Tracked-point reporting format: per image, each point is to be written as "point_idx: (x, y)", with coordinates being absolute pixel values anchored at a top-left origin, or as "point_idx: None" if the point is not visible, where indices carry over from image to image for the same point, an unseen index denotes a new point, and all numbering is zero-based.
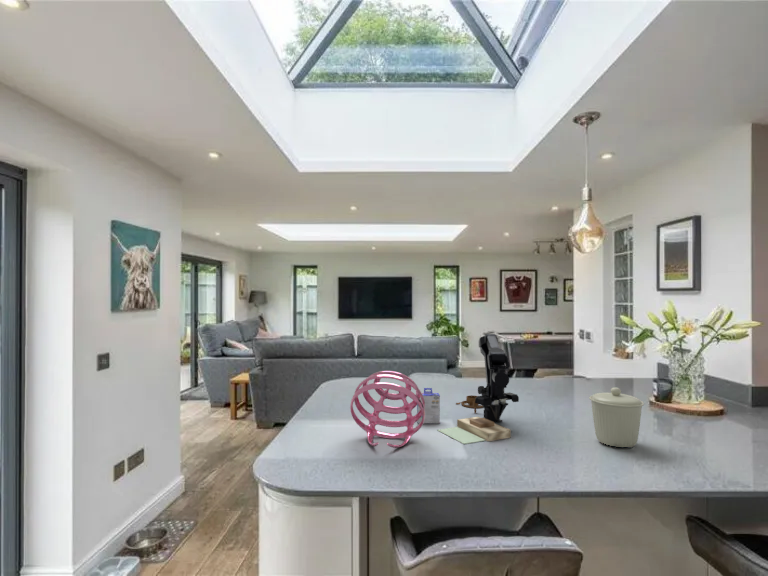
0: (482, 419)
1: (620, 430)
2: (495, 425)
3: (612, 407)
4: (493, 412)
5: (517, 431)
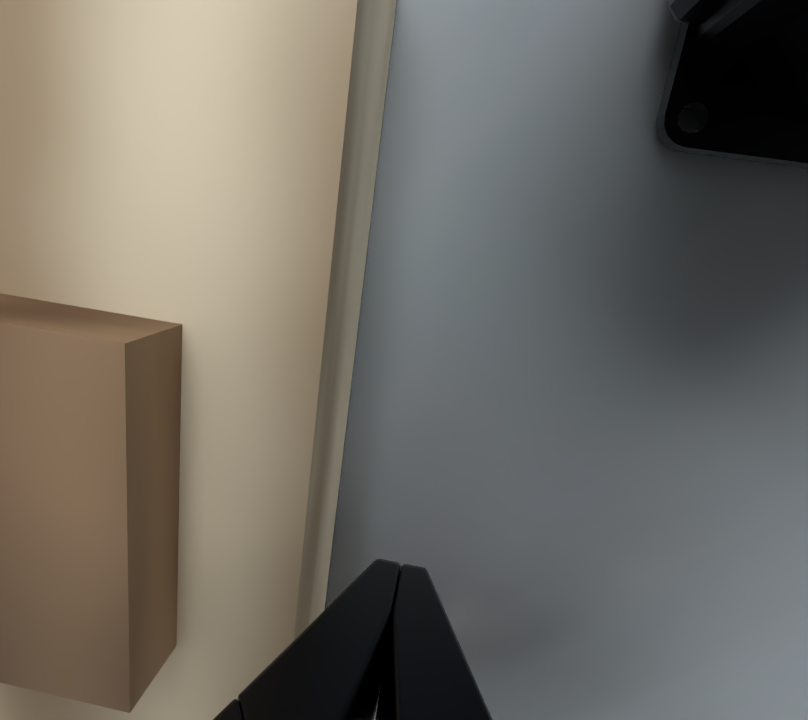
0: (10, 442)
1: None
2: (213, 641)
3: None
4: (253, 694)
5: (616, 688)
